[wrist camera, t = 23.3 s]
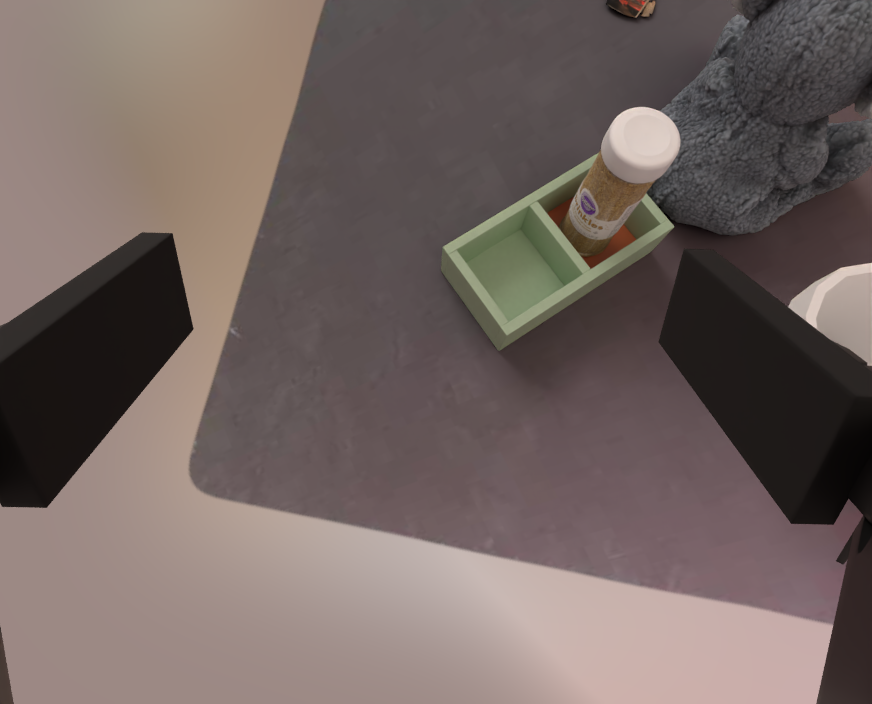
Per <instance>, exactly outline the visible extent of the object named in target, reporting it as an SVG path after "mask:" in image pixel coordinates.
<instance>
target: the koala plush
mask: <svg viewBox="0 0 872 704" xmlns="http://www.w3.org/2000/svg"><path fill="white" fill-rule="evenodd" d="M732 5H733V6H734V7H733V9H736V11H738V12H740V13H741V14H744V16H739V14H738V15H736V17H733V18H732V19H731V21H728V23H727V25H726V26H725V27H724V29H723V31H722V33H721V35H720V37H719V39H718V41H717V43H716V46H715V48H714V49H713V52H712V55H711V56H710V59H709V61H708V62H707V63H706V67H705V68H704V69H703V70H702V71H701V72H700V74H699V75H698V76H697V78H695V80H694V81H692V82H691V83H690V84H689V85H688V86H686V87H685V88H684V89H683V90H682V92H680V93H679V94H678V95H677V96H676V97H675V98H674V99H673V100H672V102H671V104H668V105H667V106H666V107H665V108H663V109H662V110H660V112H662V113H663V114H665V115H666V116H668V117H669V118H670V119H671V120H672V121H673V122H674V124H675V125H676V127H677V129H678V131H679V134H680V149H679V152H678V154H677V156H676V158H675V159H674V161H673V162H672V164H671V165H670V166H669V168H668V169H667V170H666V172H665V173H664V174H663V175H662V176H661V177H659V178H658V179H657V180H655V182H654V183H653V184H652V186H651V187H650V188H649V189H648V190H647V192H646V193H647V195H648V196H649V197H650V198H651V199H652V201H653V202H654V203H655V204H656V205H657V206H661V208H660V210H662V211H663V212H665V213H666V214H667V215H668V216H670V219H672V220H675V221H676V223H684V224H690V225H694V226H697V227H701V228H703V229H707V230H709V231H713V232H714V233H717V234H720V235H721V234H723V235H738V234H747V233H756V232H758V231H761V230H762V229H763V228H764V227H767V226H769V225H770V223H771V222H772V223H773V222H774V221H776V220H777V218H778V217H779V216H781V215H783V214H785V213H786V212H788V211H790V210H791V209H792V208H793V206H796V205H797V204H800V203H802V202H805V201H808V200H810V199H811V198H813V197H815V195H819V194H823V193H826V192H828V191H830V190H832V191H833V190H834V189H836V188H839V187H841V186H842V185H843V184H845V183H847V182H849V181H853V180H855V179H857V178H859V177H860V176H862V175H863V174H864V173H865V171H867V170H868V167H870V166H871V165H872V0H732ZM853 103H855V111H856V112H859V114H860V115H861V116H867V117H869V119H866V120H864V121H861V122H859V121H852V122H844V123H839V124H837V123H835V124H834V123H831V124H828V122H829V118H828V115H831V114H833V113H836V112H838V111H840V110H842V109H843V108H846V107H847V106H850V105H851V104H853Z"/></svg>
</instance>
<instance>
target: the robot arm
mask: <svg viewBox="0 0 872 704" xmlns="http://www.w3.org/2000/svg"><path fill="white" fill-rule="evenodd" d="M192 330H193V325H192V321H191V316H190V311H189V307H188V302H187V298H186V293H185V288H184V284H183V279H182V275H181V270H180V266H179V261H178V257H177V252H176V248H175V243H174V239H173V234H172V233H141V234H139V235H138V236H136V237H135V238H133V239H132V240H130V241H129V242H127V243H126V244H124V245H123V246H121V247H120V248H118V249H117V250H115V251H114V252H112V253H111V254H110V255H108V256H106V257H105V258H103V259H102V260H100V261H99V262H97V263H96V264H94V265H93V266H92V267H90V268H89V269H87V270H86V271H84V272H83V273H81V274H80V275H78V276H77V277H75V278H74V279H72V280H71V281H69V282H68V283H66V284H65V285H63V286H62V287H60V288H59V289H57V290H56V291H54V292H53V293H52V294H50V295H48V296H47V297H45V298H44V299H43V300H41V301H39V302H38V303H36V304H35V305H34V306H32V307H31V308H29V309H28V310H26V311H25V312H23V313H22V314H20V315H19V316H17V317H16V318H14V319H13V320H11V321H10V322H8V323H6V324H4V325H1V326H0V503H1V505H2V507H39V508H41V507H42V508H47V507H48V505H49V504H50V503H51V502H52V501H53V499H54V498H55V497H56V496H57V495H58V493H59V492H60V491H61V489H62V488H63V487H64V486H65V485H66V484H67V482H68V481H69V480H70V478H71V477H72V476H73V475H74V474H75V472H76V471H77V470H78V469H79V468H80V467H81V465H82V464H83V463H84V462H85V460H86V459H87V458H88V457H89V456H90V454H91V453H92V452H93V451H94V450H95V448H96V447H97V446H98V444H99V443H100V442H101V441H102V440H103V439H104V437H105V436H106V435H107V434H108V433H109V431H110V430H111V429H112V428H113V426H114V425H115V424H116V423H117V421H118V420H119V419H120V418H121V416H123V414H124V413H125V412H126V411H127V409H128V408H129V407H130V406H131V404H132V403H133V402H134V401H135V400H136V398H137V397H138V396H139V395H140V394H141V392H142V391H143V390H144V389H145V387H146V386H147V385H148V384H149V383H150V381H151V380H152V379H153V378H154V377H155V375H156V374H157V373H158V372H159V371H160V369H161V368H162V367H163V366H164V364H165V363H166V362H167V361H168V359H169V358H170V357H171V356H172V355H173V354H174V352H175V351H176V350H177V349H178V347H179V346H180V345H181V344H182V342H183V341H184V340H185V339H186V338H187V336H188V335H189V334H190V333H191V332H192ZM659 343H660V345H661V346H662V347H663V349H664V350H665V351H666V353H667V354H668V355H669V357H670V358H671V360H672V361H673V362H674V364H675V365H676V366H677V368H678V369H679V371H680V372H681V373H682V375H683V376H684V377H685V379H686V380H687V382H688V383H689V384H690V386H691V387H692V388H693V390H694V391H695V392H696V394H697V395H698V397H699V398H700V399H701V401H702V402H703V403H704V405H705V406H706V408H707V409H708V410H709V412H710V413H711V414H712V416H713V417H714V419H715V420H716V421H717V423H718V424H719V425H720V427H721V428H722V429H723V431H724V432H725V434H726V435H727V436H728V438H729V439H730V440H731V442H732V443H733V445H734V446H735V447H736V449H737V450H738V451H739V453H740V454H741V456H742V457H743V458H744V460H745V461H746V462H747V464H748V465H749V466H750V468H751V469H752V471H753V472H754V473H755V475H756V476H757V477H758V479H759V480H760V482H761V483H762V484H763V486H764V487H765V488H766V490H767V491H768V493H769V494H770V495H771V497H772V498H773V499H774V501H775V502H776V503H777V505H778V506H779V508H780V509H781V510H782V512H783V513H784V514H785V516H786V517H787V519H788V520H789V521H790V523H791V524H832V525H834V523H835V521H836V519H837V518H838V516H839V514H840V512H841V511H842V509H843V507H844V505H845V504H846V502H847V500H848V498H849V499H850V500H851V502H852V503H853V504H854V505H855V506H856V507H857V508H858V509H859V511H860V512H861V513H862V514H863V517H862V519H861V520H860V522H859V524H858V525H857V527H856V529H855V530H854V532H853V534H852V535H851V537H850V539H849V540H848V542H847V544H846V545H845V547H844V548H843V550H842V552H841V553H840V555H839V557H838V558H837V560H836V561H837V562H839V563H841V564H844V563H845V562H846V561H847V565H846V570H845V574H844V579H843V584H842V588H841V593H840V597H839V602H838V607H837V611H836V616H835V620H834V625H833V630H832V634H831V639H830V643H829V648H828V653H827V658H826V663H825V667H824V671H823V676H822V680H821V685H820V690H819V694H818V699H817V704H872V366H867V362H866V361H864V360H863V359H862V358H860V357H859V356H858V355H856V354H855V353H854V352H852V351H851V350H850V349H848V348H846V347H844V346H842V345H840V344H838V343H836V342H834V341H832V340H830V339H829V338H827V337H826V336H825V335H824V334H822V333H821V332H820V331H818V330H817V329H816V328H814V327H813V326H812V325H811V324H809V323H808V322H807V321H805V320H804V319H803V318H801V317H800V316H799V315H798V314H796V313H795V312H794V311H792V310H791V309H790V308H788V307H787V306H786V305H785V304H783V303H782V302H781V301H779V300H778V299H777V298H775V297H774V296H773V295H772V294H770V293H769V292H768V291H766V290H765V289H764V288H762V287H761V286H760V285H759V284H757V283H756V282H755V281H753V280H752V279H751V278H749V277H748V276H747V275H746V274H744V273H743V272H742V271H740V270H739V269H738V268H736V267H735V266H734V265H733V264H731V263H730V262H729V261H727V260H726V259H725V258H723V257H722V256H721V255H720V254H718V253H717V252H716V251H714V250H704V249H684V251H683V255H682V258H681V262H680V266H679V269H678V273H677V277H676V280H675V284H674V288H673V291H672V295H671V298H670V302H669V306H668V309H667V313H666V317H665V320H664V324H663V328H662V331H661V335H660V339H659ZM0 704H14V703H13V697H12V692H11V686H10V680H9V674H8V669H7V663H6V657H5V651H4V645H3V640H2V634H1V628H0Z"/></svg>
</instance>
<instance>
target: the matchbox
mask: <svg viewBox="0 0 872 704" xmlns="http://www.w3.org/2000/svg"><path fill="white" fill-rule="evenodd" d="M648 2H649V0H607V3H606V5H608V6H610V7H611V8H613V9H615V10H617V11H619V12H621V13H622V14H625V15H628V16H631V17H635V18H637V16H638V15H639V13H640V12H642V9H644V7H645V6H646V7H645V9H644V11H643V14H642V15H641V16H643V17H645V16H647V17H649V13H651V15H652V12H653V10H654V6H655V1H652V3H651V2H649V3H648Z"/></svg>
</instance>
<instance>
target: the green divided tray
mask: <svg viewBox="0 0 872 704" xmlns="http://www.w3.org/2000/svg"><path fill="white" fill-rule="evenodd" d="M598 154H599V153H598ZM598 154H596V155H594V156H593V157H591V158H589V159H588V160H586V161H584V162H583V163H581V164H579V165H578V166H576V167H574V168H573V169H571V170H570V171H568V172H566V173H565V174H563V175H561V176H560V177H558V178H556V179H555V180H553V181H551V182H550V183H548V184H546V185H545V186H543V187H541V188H540V189H538V190H536V191H535V192H533V193H531V194H530V195H528V196H526V197H525V198H523V199H522V200H520V201H518V202H517V203H515V204H513V205H512V206H510V207H508V208H507V209H505V210H503V211H502V212H500V213H498V214H497V215H495V216H493V217H492V218H490V219H488V220H487V221H485V222H483V223H482V224H480V225H478V226H477V227H475V228H474V229H472V230H470V231H469V232H467V233H465V234H464V235H462V236H460V237H459V238H457V239H455V240H454V241H452V242H450V243H449V244H447V245H445V246H444V247H443V250H442V263H441V272H442V273H443V274H444V276H445V277H446V279H447V280H448V281H449V283H450V284H451V286H452V287H453V288H454V290H455V291H456V293H457V294H458V295H459V297H460V298H461V300H462V301H463V302H464V304H465V305H466V307H467V308H468V309H469V311H470V312H471V314H472V315H473V316H474V318H475V319H476V321H477V322H478V323H479V325H480V326H481V328H482V329H483V330H484V332H485V333H486V335H487V336H488V337H489V339H490V340H491V342H492V343H493V344H494V346H495V347H496V348H497V350H498V351H500V350H502V349H503V348H505V347H506V346H508V345H509V344H511V343H512V342H514V341H515V340H517V339H518V338H520V337H522V336H523V335H525V334H526V333H528V332H529V331H531V330H532V329H534V328H535V327H537V326H538V325H540V324H541V323H543V322H544V321H546V320H548V319H549V318H551V317H552V316H554V315H555V314H557V313H558V312H560V311H561V310H563V309H564V308H566V307H567V306H569V305H570V304H572V303H574V302H575V301H577V300H578V299H580V298H581V297H583V296H584V295H586V294H587V293H589V292H590V291H592V290H593V289H595V288H596V287H598V286H599V285H601V284H603V283H604V282H606V281H607V280H609V279H610V278H612V277H613V276H615V275H616V274H618V273H619V272H621V271H622V270H624V269H625V268H627V267H629V266H630V265H632V264H633V263H635V262H636V261H638V260H639V259H641V258H642V257H644V256H645V255H647V254H648V253H650V252H651V251H652V250H653V249H654V248H655V247H656V246H657V245H658V244H659V243H660V242H661V241H662V240H663V239H664V238H665V236H666V235H667V234H668V233H669V232H670V231H671V230H672V229H673V228H674V225H673V224H672V223H671V222H670V221H669V220H668V218H667V217H666V216H665V215H664V214H663V212H662V211H661V210H660V209H659V208H658V206H657V205H656V204H655V203H654V202H653V201H652V199H651V198H650V197H649V196H648V195H647V193H646V194H645V196H644V197H643V199H642V200H641V201H640V203H639V204H638V205H637V206H636V208H635V209H634V210H633V212H632V213H631V214H630V216H629V217H628V219H627V220H626V221H625V223H624V224H623V225H622V227H621V228H620V229H619V231H618V232H617V233H616V234H615V235H614V236H613V237H612V239H611V240H610V243H609V245H608V246H607V248H606V249H604V251H603V252H602V253H600V254H598V255H595V256H590V257H584V256H582V257H581V256H580V255H579V253H578V252H577V251H576V250H575V248H574V247H573V246H572V244H571V243H570V242H569V241H568V239H567V238H566V237H565V236H564V234H563V233H562V232H561V230H560V229H559V225H560V223H561V221H562V219H563V217H564V216H566V214H567V212H568V210H569V208H570V205H571V202H572V200H573V198H574V197H575V195H576V193H577V191H578V189H579V187H580V185H581V183H582V182H583V180H584V179H585V177H586V176H587V174H588V172H589V170H590V168H591V167H592V165H593V163H594V161H595V159H596V158H597V155H598Z"/></svg>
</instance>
